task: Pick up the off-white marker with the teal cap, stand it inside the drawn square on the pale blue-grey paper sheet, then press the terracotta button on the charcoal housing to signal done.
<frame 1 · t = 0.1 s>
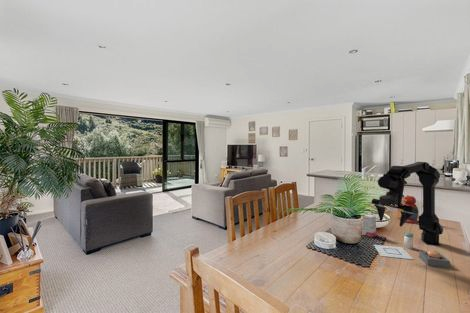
hand: (390, 223, 111), 15 cm above the table, tool pointing down, fingers open, 9 cm apart
paper sheet: (392, 251, 115), on the table
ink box: (366, 235, 138), on the table
stacking bear: (409, 221, 162), on the table
button housing: (433, 262, 105), on the table
done button: (433, 254, 104), point 3 cm above the table, slide at 0.0 cm
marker: (408, 247, 120), on the table
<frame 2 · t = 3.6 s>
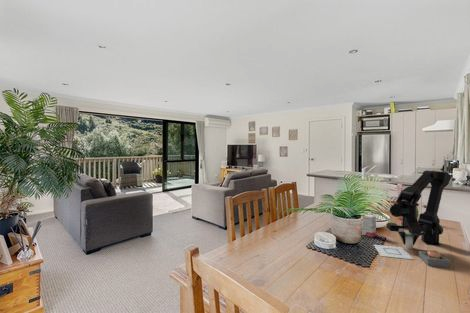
hand: (408, 244, 120), 2 cm above the table, tool pointing down, fingers closed on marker, 4 cm apart
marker: (408, 247, 120), on the table, touching gripper
everything else where it was.
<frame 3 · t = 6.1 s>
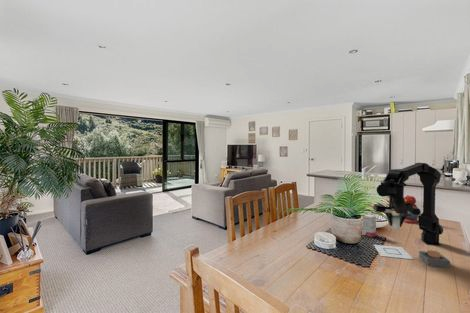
hand: (395, 226, 116), 13 cm above the table, tool pointing down, fingers closed on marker, 4 cm apart
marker: (395, 229, 116), point 11 cm above the table, touching gripper
everything else where it was.
when the fingers open (3 cm above the table, at t = 8.8 s): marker stays where it is, resting on paper sheet.
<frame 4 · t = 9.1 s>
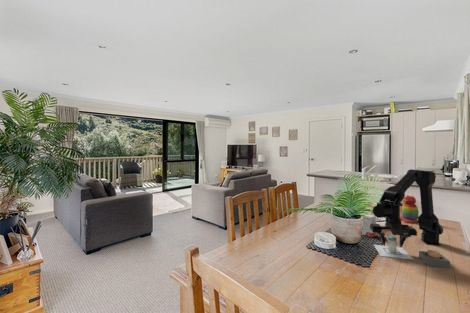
hand: (392, 246, 115), 3 cm above the table, tool pointing down, fingers open, 7 cm apart
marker: (392, 251, 115), resting on paper sheet
everything else where it was.
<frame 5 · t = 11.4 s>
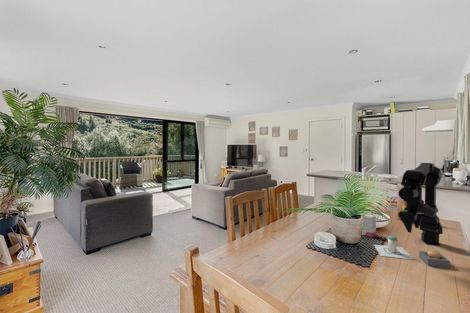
hand: (413, 230, 109), 13 cm above the table, tool pointing down, fingers open, 9 cm apart
nothing on the table moved.
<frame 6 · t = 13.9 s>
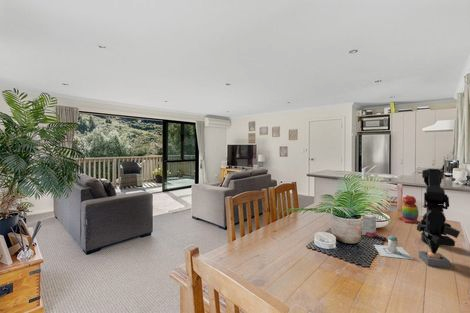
hand: (433, 253, 104), 4 cm above the table, tool pointing down, fingers closed, pressing on done button
done button: (433, 255, 104), point 3 cm above the table, slide at 0.4 cm, touching gripper
everything else where it was.
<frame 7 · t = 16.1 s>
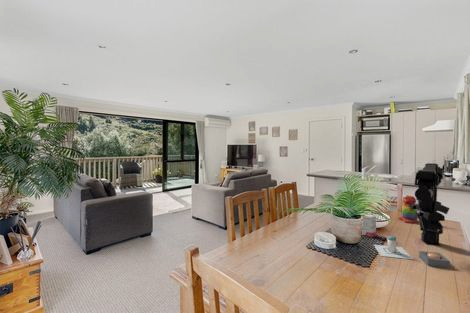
hand: (425, 229, 111), 13 cm above the table, tool pointing down, fingers closed
done button: (433, 257, 105), point 2 cm above the table, slide at 1.2 cm
everything else where it was.
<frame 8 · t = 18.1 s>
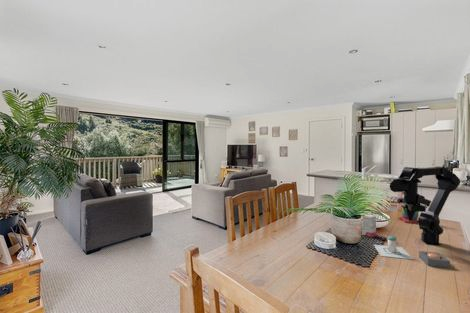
hand: (410, 220, 123), 13 cm above the table, tool pointing down, fingers closed
nothing on the table moved.
at the end: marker 0.0 cm from the target spot, resting on paper sheet; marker tilted 2°; done button slide at 1.2 cm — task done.
